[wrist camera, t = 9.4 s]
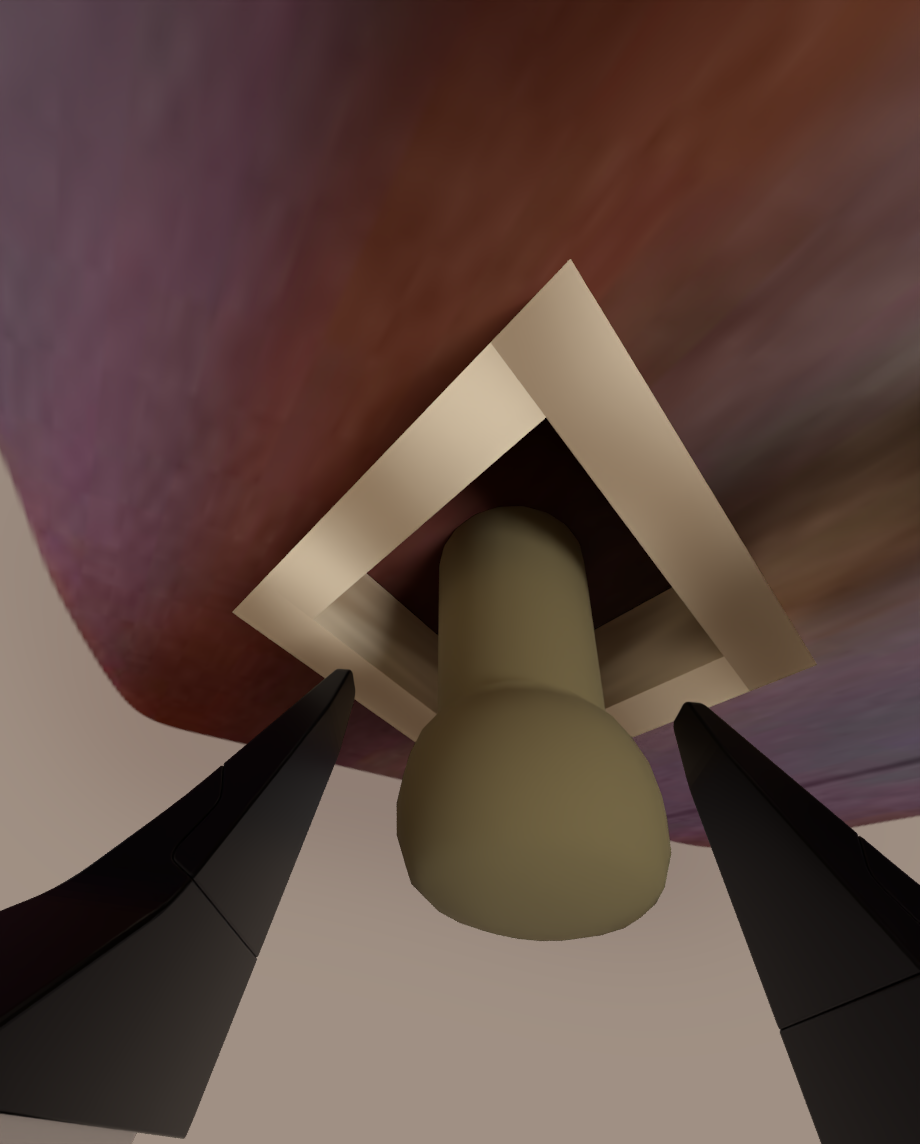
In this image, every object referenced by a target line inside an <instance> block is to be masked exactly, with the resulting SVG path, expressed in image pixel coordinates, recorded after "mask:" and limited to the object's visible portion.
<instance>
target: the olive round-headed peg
mask: <svg viewBox="0 0 920 1144" xmlns="http://www.w3.org/2000/svg"><path fill="white" fill-rule="evenodd" d="M397 837H398V841H399V844H400V847H401V851H402V854H403V858H404V861H405V865H406V868H407V871H408V875H409V878H410V880H411V884H412V885H413V886H414V887H415V888H416V889H417V890H418V891H419V892H420V893H421V894H422V895H423V896H424V897H425V898H426V899H427V900H428V901H429V902H430V903H431V904H432V905H433V906H434V907H435V908H436V909H437V910H438V911H439V912H441V913H443V914H445V915H446V916H448V917H450V918H452V919H454V920H455V921H457V922H459V923H462V924H465V925H468V926H471V927H474V928H477V929H480V930H483V931H486V932H490V933H494V934H497V935H502V936H507V937H512V938H517V939H526V940H537V941H562V940H571V939H577V938H585V937H592V936H600V935H604V934H606V933H610V932H613V931H616V930H619V929H623V928H625V927H627V926H628V925H630V924H631V923H633V922H634V921H636V920H637V919H639V918H641V917H642V916H643V915H644V914H645V913H646V912H647V911H648V910H649V909H650V908H652V907H653V905H655V904H656V902H657V900H658V898H659V897H660V895H661V893H662V891H663V889H664V887H665V882H666V877H667V872H668V867H669V862H670V857H671V847H670V839H669V832H668V824H667V817H666V813H665V808H664V804H663V799H662V795H661V792H660V790H659V787H658V785H657V782H656V780H655V777H654V775H653V772H652V769H651V767H650V764H649V762H648V761H647V759H646V758H645V756H644V755H643V753H642V752H641V750H640V749H639V748H638V746H637V745H636V743H635V742H634V740H633V739H632V737H631V736H630V735H629V734H628V733H627V731H626V730H625V729H624V728H623V727H622V726H621V725H620V724H619V723H618V721H617V720H616V719H615V718H614V717H613V716H612V715H610V714H609V713H607V712H606V711H605V704H604V697H603V690H602V683H601V676H600V669H599V662H598V655H597V648H596V641H595V634H594V627H593V620H592V613H591V606H590V599H589V591H588V584H587V577H586V570H585V563H584V559H583V556H582V552H581V548H580V544H579V542H578V541H577V539H576V538H575V537H574V535H573V534H572V532H571V531H570V530H569V528H568V527H567V526H566V525H565V524H563V523H562V522H560V521H559V520H557V519H556V518H554V517H553V516H551V515H550V514H548V513H547V512H543V511H539V510H536V509H532V508H528V507H525V506H509V507H496V508H493V509H490V510H487V511H484V512H481V513H479V514H476V515H474V516H472V517H471V518H470V519H468V520H467V521H466V522H464V523H463V524H462V525H460V526H459V527H458V528H456V530H455V531H454V532H453V534H452V535H451V537H450V538H449V540H448V541H447V543H446V544H445V545H444V549H443V552H442V556H441V560H440V564H439V632H438V714H437V715H436V716H435V717H434V718H433V719H432V720H431V721H430V722H429V723H428V724H427V725H426V726H425V727H424V728H423V729H422V731H421V733H420V735H419V737H418V739H417V741H416V742H415V744H414V746H413V748H412V750H411V752H410V755H409V758H408V762H407V765H406V768H405V771H404V775H403V779H402V783H401V787H400V792H399V796H398V800H397Z"/></svg>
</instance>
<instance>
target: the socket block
mask: <svg viewBox="0 0 920 1144" xmlns="http://www.w3.org/2000/svg"><path fill="white" fill-rule="evenodd" d="M545 418H547V420H548V421H549V422H550V424H551V425H552V426H553V428H554V429H555V430H556V432H557V433H558V434H559V436H560V437H561V438H562V440H563V441H564V442H565V444H566V445H567V447H568V448H569V449H570V451H571V452H572V453H573V455H574V456H575V457H576V459H577V460H578V461H579V463H580V464H581V465H582V467H583V468H584V469H585V471H586V472H587V473H588V475H589V476H590V477H591V479H592V480H593V481H594V483H595V484H596V485H597V487H598V488H599V489H600V491H601V492H602V494H603V495H604V496H605V498H606V499H607V500H608V502H609V503H610V504H611V506H612V507H613V508H614V510H615V511H616V512H617V514H618V515H619V516H620V518H621V519H622V520H623V522H624V523H625V524H626V526H627V527H628V528H629V530H630V531H631V532H632V534H633V535H634V536H635V538H636V539H637V541H638V542H639V543H640V545H641V546H642V547H643V549H644V550H645V551H646V553H647V554H648V555H649V557H650V558H651V559H652V561H653V562H654V563H655V565H656V566H657V567H658V569H659V570H660V571H661V573H662V574H663V575H664V577H665V578H666V579H667V581H668V582H669V584H670V585H671V586H672V588H670V589H668V590H667V591H665V592H663V593H661V594H659V595H657V596H656V597H654V598H652V599H650V600H648V601H646V602H645V603H643V604H641V605H639V606H637V607H635V608H634V609H632V610H630V611H628V612H626V613H624V614H623V615H621V616H619V617H617V618H615V619H613V620H612V621H610V622H608V623H606V624H604V625H603V626H601V627H599V628H597V629H595V630H594V634H595V641H596V648H597V655H598V662H599V669H600V676H601V683H602V690H603V697H604V704H605V711H606V712H607V713H609V714H610V715H612V716H613V717H614V718H615V719H616V720H617V721H618V723H619V724H620V725H621V726H622V727H623V728H624V729H625V730H626V731H627V733H628V734H629V735H630V736H631V737H635V736H637V735H640V734H642V733H645V732H647V731H650V730H652V729H655V728H657V727H660V726H663V725H665V724H668V723H670V722H673V721H674V720H675V718H676V716H677V715H678V713H679V711H680V709H681V707H682V705H683V704H684V703H685V702H697V703H702V704H704V705H706V706H707V707H711V706H713V705H716V704H719V703H721V702H724V701H726V700H729V699H731V698H734V697H736V696H739V695H741V694H744V693H747V692H749V691H752V690H754V689H757V688H759V687H762V686H764V685H767V684H769V683H772V682H774V681H777V680H780V679H782V678H785V677H787V676H790V675H792V674H795V673H797V672H800V671H802V670H805V669H808V668H810V667H813V666H815V665H817V664H816V662H815V661H814V659H813V657H812V656H811V654H810V652H809V651H808V649H807V647H806V646H805V644H804V643H803V641H802V639H801V638H800V636H799V634H798V633H797V631H796V629H795V628H794V626H793V624H792V623H791V621H790V619H789V618H788V616H787V615H786V613H785V611H784V610H783V608H782V606H781V605H780V603H779V601H778V600H777V598H776V596H775V595H774V593H773V592H772V590H771V588H770V587H769V585H768V583H767V582H766V580H765V578H764V577H763V575H762V573H761V572H760V570H759V568H758V567H757V565H756V564H755V562H754V560H753V559H752V557H751V555H750V554H749V552H748V550H747V549H746V547H745V545H744V544H743V542H742V540H741V539H740V537H739V536H738V534H737V532H736V531H735V529H734V527H733V526H732V524H731V522H730V521H729V519H728V517H727V516H726V514H725V513H724V511H723V509H722V508H721V506H720V504H719V503H718V501H717V499H716V498H715V496H714V494H713V493H712V491H711V489H710V488H709V486H708V485H707V483H706V481H705V480H704V478H703V476H702V475H701V473H700V471H699V470H698V468H697V466H696V465H695V463H694V462H693V460H692V458H691V457H690V455H689V453H688V452H687V450H686V448H685V447H684V445H683V443H682V442H681V440H680V438H679V437H678V435H677V434H676V432H675V430H674V429H673V427H672V425H671V424H670V422H669V420H668V419H667V417H666V415H665V414H664V412H663V410H662V409H661V407H660V406H659V404H658V402H657V401H656V399H655V397H654V396H653V394H652V392H651V391H650V389H649V387H648V386H647V384H646V383H645V381H644V379H643V378H642V376H641V374H640V373H639V371H638V369H637V368H636V366H635V364H634V363H633V361H632V359H631V358H630V356H629V355H628V353H627V351H626V350H625V348H624V346H623V345H622V343H621V341H620V340H619V338H618V336H617V335H616V333H615V332H614V330H613V328H612V327H611V325H610V323H609V322H608V320H607V318H606V317H605V315H604V313H603V312H602V310H601V308H600V307H599V305H598V304H597V302H596V300H595V299H594V297H593V295H592V294H591V292H590V290H589V289H588V287H587V285H586V284H585V282H584V280H583V279H582V277H581V276H580V274H579V272H578V271H577V269H576V267H575V266H574V264H573V262H572V261H571V259H570V260H569V261H568V262H567V263H566V264H565V265H564V266H563V267H562V268H561V269H560V270H559V271H558V273H557V274H556V275H555V276H554V277H553V278H552V279H551V280H550V281H549V282H548V283H547V284H546V285H545V286H544V287H543V288H542V289H541V290H540V291H539V292H538V293H537V294H536V295H535V297H534V298H533V299H532V300H531V301H530V302H529V303H528V304H527V305H526V306H525V307H524V308H523V309H522V310H521V311H520V312H519V313H518V314H517V315H516V316H515V317H514V318H513V320H512V321H511V322H510V323H509V324H508V325H507V326H506V327H505V328H504V329H503V330H502V331H501V332H500V333H499V334H498V335H497V336H496V337H495V338H494V339H493V340H492V341H491V342H490V344H489V345H488V346H487V347H486V348H485V349H484V350H483V351H482V352H481V353H480V354H479V355H478V356H477V357H476V358H475V359H474V360H473V361H472V362H471V363H470V364H469V365H468V366H467V368H466V369H465V370H464V371H463V372H462V373H461V374H460V375H459V376H458V377H457V378H456V379H455V380H454V381H453V382H452V383H451V384H450V385H449V386H448V387H447V388H446V389H445V390H444V392H443V393H442V394H441V395H440V396H439V397H438V398H437V399H436V400H435V401H434V402H433V403H432V404H431V405H430V406H429V407H428V408H427V409H426V410H425V411H424V412H423V413H422V415H421V416H420V417H419V418H418V419H417V420H416V421H415V422H414V423H413V424H412V425H411V426H410V427H409V428H408V429H407V430H406V431H405V432H404V433H403V434H402V435H401V436H400V437H399V439H398V440H397V441H396V442H395V443H394V444H393V445H392V446H391V447H390V448H389V449H388V450H387V451H386V452H385V453H384V454H383V455H382V456H381V457H380V458H379V459H378V460H377V461H376V463H375V464H374V465H373V466H372V467H371V468H370V469H369V470H368V471H367V472H366V473H365V474H364V475H363V476H362V477H361V478H360V479H359V480H358V481H357V482H356V483H355V484H354V485H353V487H352V488H351V489H350V490H349V491H348V492H347V493H346V494H345V495H344V496H343V497H342V498H341V499H340V500H339V501H338V502H337V503H336V504H335V505H334V506H333V507H332V508H331V510H330V511H329V512H328V513H327V514H326V515H325V516H324V517H323V518H322V519H321V520H320V521H319V522H318V523H317V524H316V525H315V526H314V527H313V528H312V529H311V530H310V531H309V532H308V534H307V535H306V536H305V537H304V538H303V539H302V540H301V541H300V542H299V543H298V544H297V545H296V546H295V547H294V548H293V549H292V550H291V551H290V552H289V553H288V554H287V555H286V556H285V558H284V559H283V560H282V561H281V562H280V563H279V564H278V565H277V566H276V567H275V568H274V569H273V570H272V571H271V572H270V573H269V574H268V575H267V576H266V577H265V578H264V579H263V581H262V582H261V583H260V584H259V585H258V586H257V587H256V588H255V589H254V590H253V591H252V592H251V593H250V594H249V595H248V596H247V597H246V598H245V599H244V600H243V601H242V602H241V603H240V605H239V606H238V607H237V608H236V609H235V610H234V611H233V612H232V613H234V614H235V615H237V616H238V617H239V618H241V619H242V620H244V621H245V622H246V623H248V624H249V625H251V626H252V627H254V628H255V629H256V630H258V631H259V632H261V633H262V634H263V635H265V636H266V637H268V638H269V639H270V640H272V641H273V642H275V643H276V644H277V645H279V646H280V647H282V648H283V649H285V650H286V651H287V652H289V653H290V654H292V655H293V656H294V657H296V658H297V659H299V660H300V661H301V662H303V663H304V664H306V665H307V666H309V667H310V668H311V669H313V670H314V671H316V672H317V673H318V674H320V675H321V676H323V677H324V678H326V677H327V676H328V675H330V674H331V673H332V672H333V671H334V670H336V669H349V670H351V671H352V672H353V678H354V684H355V698H354V699H355V700H356V701H358V702H359V703H361V704H362V705H364V706H365V707H366V708H368V709H369V710H371V711H372V712H373V713H375V714H376V715H378V716H379V717H380V718H382V719H383V720H385V721H386V722H388V723H389V724H390V725H392V726H393V727H395V728H396V729H397V730H399V731H400V732H402V733H403V734H404V735H406V736H407V737H409V738H410V739H412V740H413V741H414V742H416V741H417V739H418V737H419V735H420V733H421V731H422V729H423V728H424V727H425V726H426V725H427V724H428V723H429V722H430V721H431V720H432V719H433V718H434V717H435V716H436V715H437V714H438V635H437V634H436V633H434V632H433V631H432V630H431V629H430V628H429V627H428V626H426V625H425V624H424V623H423V622H422V621H421V620H419V619H418V618H417V617H416V616H415V615H414V614H413V613H411V612H410V611H409V610H408V609H407V608H406V607H405V606H403V605H402V604H401V603H400V602H399V601H398V600H396V599H395V598H394V597H393V596H392V595H391V594H390V593H388V592H387V591H386V590H385V589H384V588H383V587H382V586H380V585H379V584H378V583H377V582H376V581H375V580H373V579H372V578H371V577H370V576H369V575H368V574H367V572H368V571H369V570H371V569H372V568H373V567H374V566H375V565H376V564H377V563H379V562H380V561H381V560H382V559H383V558H384V557H386V556H387V555H388V554H389V553H390V552H391V551H392V550H394V549H395V548H396V547H397V546H398V545H399V544H401V543H402V542H403V541H404V540H405V539H406V538H407V537H409V536H410V535H411V534H412V533H413V532H414V531H416V530H417V529H418V528H419V527H420V526H421V525H422V524H424V523H425V522H426V521H427V520H428V519H429V518H431V517H432V516H433V515H434V514H435V513H436V512H437V511H439V510H440V509H441V508H442V507H443V506H444V505H446V504H447V503H448V502H449V501H450V500H451V499H452V498H454V497H455V496H456V495H457V494H458V493H459V492H461V491H462V490H463V489H464V488H465V487H466V486H467V485H469V484H470V483H471V482H472V481H473V480H474V479H476V478H477V477H478V476H479V475H480V474H481V473H482V472H484V471H485V470H486V469H487V468H488V467H489V466H491V465H492V464H493V463H494V462H495V461H496V460H497V459H499V458H500V457H501V456H502V455H503V454H504V453H506V452H507V451H508V450H509V449H510V448H511V447H512V446H514V445H515V444H516V443H517V442H518V441H519V440H521V439H522V438H523V437H524V436H525V435H526V434H527V433H529V432H530V431H531V430H532V429H533V428H534V427H536V426H537V425H538V424H539V423H540V422H541V421H543V420H544V419H545Z"/></svg>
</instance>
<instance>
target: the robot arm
mask: <svg viewBox="0 0 920 1144" xmlns="http://www.w3.org/2000/svg"><path fill="white" fill-rule="evenodd" d="M354 698H355V684H354V678H353V672H352V671H351V670H349V669H336V670H334V671H333V672H332V673H331V674H330V675H328V676H327V677H326V678H325V679H324V680H323V681H321V682H320V683H319V684H318V685H317V686H315V687H314V688H313V689H312V690H311V691H309V692H308V693H307V694H306V695H305V696H304V697H302V698H301V699H300V700H299V701H298V702H296V703H295V704H294V705H293V706H292V707H290V708H289V709H288V710H287V711H286V712H285V713H283V714H282V715H281V716H280V717H279V718H277V719H276V720H275V721H274V722H273V723H271V724H270V725H269V726H268V727H267V728H266V729H264V730H263V731H262V732H261V733H260V734H258V735H257V736H256V737H255V738H254V739H252V740H251V741H250V742H249V743H248V744H247V745H245V746H244V747H243V748H242V749H241V750H239V751H238V752H237V753H236V754H235V755H233V756H232V757H231V758H230V759H229V760H228V761H226V762H225V763H224V766H220V767H219V768H218V769H217V770H216V771H214V772H213V773H212V774H211V775H210V776H209V777H207V778H206V779H205V780H204V781H202V782H201V783H200V784H199V785H197V786H196V787H195V788H194V789H192V790H191V791H190V792H189V793H188V794H186V795H185V796H184V797H182V798H181V799H180V800H178V801H177V802H176V803H174V804H173V805H172V806H171V807H169V808H168V809H167V810H165V811H164V812H163V813H161V814H160V815H159V816H157V817H156V818H155V819H153V820H152V821H151V822H149V823H148V824H146V825H145V826H144V827H142V828H141V829H140V830H138V831H137V832H135V833H134V834H133V835H131V836H130V837H128V838H127V839H126V840H124V841H123V842H122V843H120V844H119V845H118V846H116V847H115V848H113V849H112V850H111V851H109V852H108V853H107V854H105V855H104V856H103V857H101V858H100V859H98V860H97V861H96V862H94V863H93V864H91V865H90V866H89V867H87V868H86V869H84V870H83V871H81V872H80V873H78V874H77V875H75V876H74V877H72V878H70V879H69V880H67V881H65V882H64V883H62V884H60V885H58V886H57V887H55V888H53V889H51V890H49V891H47V892H45V893H43V894H41V895H39V896H36V897H34V898H31V899H29V900H26V901H24V902H22V903H19V904H16V905H14V906H11V907H9V908H6V909H4V910H2V911H0V1144H132V1142H133V1140H134V1138H135V1136H136V1134H137V1132H138V1133H145V1134H152V1135H160V1136H167V1137H174V1138H182V1139H184V1138H185V1137H186V1135H187V1133H188V1130H189V1128H190V1126H191V1123H192V1121H193V1118H194V1116H195V1114H196V1111H197V1109H198V1106H199V1104H200V1101H201V1098H202V1096H203V1093H204V1091H205V1088H206V1086H207V1083H208V1081H209V1078H210V1076H211V1073H212V1071H213V1068H214V1066H215V1063H216V1061H217V1058H218V1056H219V1053H220V1051H221V1048H222V1046H223V1043H224V1041H225V1038H226V1036H227V1033H228V1031H229V1028H230V1025H231V1023H232V1021H233V1018H234V1016H235V1013H236V1010H237V1008H238V1006H239V1003H240V1000H241V998H242V995H243V993H244V991H245V988H246V986H247V983H248V980H249V978H250V976H251V973H252V971H253V968H254V966H255V963H256V960H257V958H256V957H258V955H259V953H260V950H261V947H262V945H263V943H264V940H265V938H266V935H267V933H268V930H269V927H270V925H271V923H272V920H273V917H274V915H275V912H276V910H277V907H278V905H279V902H280V900H281V897H282V895H283V892H284V890H285V887H286V885H287V882H288V880H289V877H290V874H291V872H292V870H293V867H294V865H295V862H296V860H297V857H298V855H299V852H300V850H301V847H302V845H303V842H304V840H305V837H306V835H307V832H308V830H309V827H310V825H311V822H312V819H313V817H314V815H315V812H316V810H317V807H318V805H319V802H320V800H321V797H322V795H323V792H324V789H325V787H326V784H327V782H328V780H329V777H330V775H331V772H332V770H333V767H334V765H335V762H336V760H337V757H338V754H339V751H340V748H341V745H342V741H343V738H344V734H345V731H346V727H347V724H348V720H349V716H350V713H351V709H352V706H353V702H354ZM674 732H675V736H676V740H677V744H678V748H679V751H680V755H681V759H682V763H683V767H684V770H685V774H686V778H687V782H688V785H689V788H690V791H691V794H692V797H693V800H694V803H695V805H696V808H697V811H698V813H699V816H700V819H701V821H702V824H703V827H704V829H705V832H706V835H707V837H708V840H709V843H710V845H711V848H712V851H713V854H714V856H715V859H716V862H717V864H718V867H719V870H720V872H721V875H722V877H723V880H724V883H725V885H726V888H727V891H728V894H729V896H730V899H731V902H732V905H733V907H734V910H735V913H736V915H737V918H738V921H739V923H740V926H741V929H742V931H743V934H744V937H745V939H746V942H747V945H748V947H749V950H750V953H751V956H752V958H753V961H754V964H755V966H756V969H757V972H758V974H759V977H760V980H761V982H762V985H763V988H764V990H765V993H766V996H767V999H768V1001H769V1004H770V1007H771V1009H772V1012H773V1014H774V1017H775V1020H776V1023H777V1025H778V1027H779V1029H780V1034H781V1037H782V1040H783V1042H784V1044H785V1047H786V1050H787V1053H788V1055H789V1058H790V1061H791V1064H792V1066H793V1069H794V1072H795V1074H796V1077H797V1080H798V1082H799V1085H800V1088H801V1090H802V1093H803V1096H804V1099H805V1101H806V1104H807V1107H808V1109H809V1112H810V1114H811V1117H812V1120H813V1123H814V1125H815V1128H816V1131H817V1133H818V1136H819V1139H820V1142H821V1144H920V885H919V884H918V883H917V882H915V881H914V880H913V879H912V878H910V877H909V876H908V875H907V874H906V873H904V872H903V871H902V870H901V869H899V868H898V867H897V866H896V865H895V864H893V863H892V862H891V861H890V860H889V859H887V858H886V857H885V856H883V855H882V854H881V853H880V852H879V851H878V850H876V849H875V848H874V847H873V846H872V845H871V844H869V843H868V842H867V841H866V840H865V839H863V838H862V837H860V836H858V834H857V833H856V832H855V831H854V830H853V829H851V828H850V827H849V826H848V825H847V824H846V823H844V822H843V821H842V820H841V819H840V818H838V817H837V816H836V815H835V814H834V813H832V812H831V811H830V810H829V809H828V808H827V807H825V806H824V805H823V804H822V803H821V802H819V801H818V800H817V799H816V798H815V797H814V796H812V795H811V794H810V793H809V792H808V791H806V790H805V789H804V788H803V787H802V786H800V785H799V784H798V783H797V782H796V781H795V780H793V779H792V778H791V777H790V776H789V775H787V774H786V773H785V772H784V771H783V770H782V769H780V768H779V767H778V766H777V765H776V764H774V763H773V762H772V761H771V760H770V759H768V758H767V757H766V756H765V755H764V754H763V753H761V752H760V751H759V750H758V749H757V748H755V747H754V746H753V745H752V744H751V743H749V742H748V741H747V740H746V739H745V738H744V737H742V736H741V735H740V734H739V733H738V732H736V731H735V730H734V729H733V728H732V727H731V726H729V725H728V724H727V723H726V722H725V721H723V720H722V719H721V718H720V717H719V716H717V715H716V714H715V713H714V712H713V711H712V710H710V709H709V708H708V707H707V706H706V705H704V704H702V703H697V702H685V703H684V704H683V705H682V707H681V709H680V711H679V713H678V715H677V716H676V718H675V720H674Z"/></svg>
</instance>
